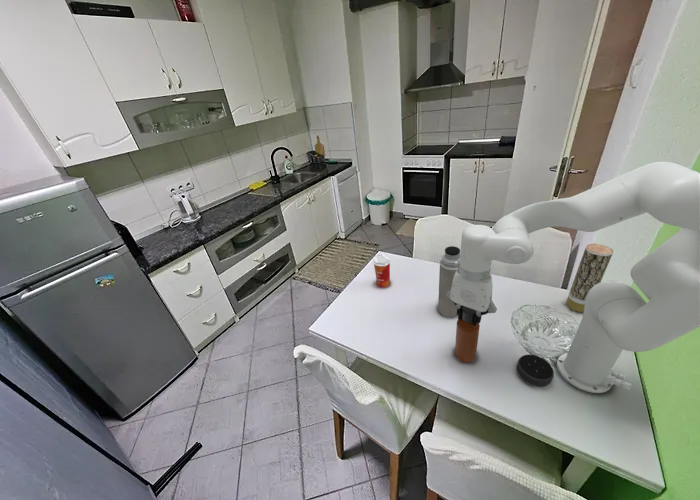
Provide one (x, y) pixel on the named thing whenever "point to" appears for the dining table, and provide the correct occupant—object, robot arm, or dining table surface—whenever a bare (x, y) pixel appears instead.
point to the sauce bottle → (466, 341)
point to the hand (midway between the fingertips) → (468, 319)
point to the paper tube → (588, 274)
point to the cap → (468, 314)
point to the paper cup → (382, 270)
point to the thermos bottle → (447, 281)
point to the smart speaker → (535, 370)
